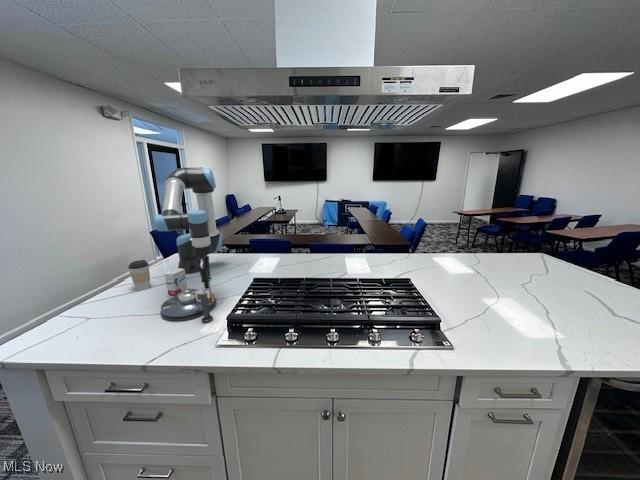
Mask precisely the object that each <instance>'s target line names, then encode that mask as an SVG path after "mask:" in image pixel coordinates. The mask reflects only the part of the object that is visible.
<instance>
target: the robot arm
mask: <svg viewBox="0 0 640 480" xmlns="http://www.w3.org/2000/svg"><path fill="white" fill-rule="evenodd" d="M213 172H214V171H213V170H212V169H211V168H210V167H179V168H177V169H175V170H173V171H171V172H170V173H169V174H168V175H167V177H166V178H165V181H164V188H165V193H164V199H163V205H162V209H161V214H158V215H155V216H154V217H153V221H154V222H153V223H154V228H155V229H156V231H158V232H171V231H172V232H173V231H185V230H189V233H185V234H182V235H180V236H178V237H177V238H176V247H177V253H178V258H179V259H178V260H179V261H178V267H177V268H181V269H185V275H186V274H193V273H197V272H199V273H200V278H201V283H202V284H203V289H209V293H213V292H212V285H211V280H212V277H211V270H210V268H211V267H210V256H209V255H210V254H212V253H214V252H221V250H222V249H223V233H222V232H220V230H219V229H217V225H216V224H217V223H216V222H217V221H216V218H215V217H216V216H215V209H214V203H213V202H214V201H213V193H214V192H215V189H216V188H217V183H216V180H215V175H214V173H213ZM187 189H188V190H189V189H190V190H191V189H192V193H194V194H195V196H196V201H197V208H198V210H197V209H196V210H190V211H188V213H187V212H183V213H181V212H182V203H183V202H182V200H183V193H184V191H185V190H187Z"/></svg>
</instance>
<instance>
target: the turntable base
mask: <svg viewBox="0 0 640 480" xmlns="http://www.w3.org/2000/svg"><path fill="white" fill-rule="evenodd" d="M217 301H218V300H217V298H216V297H215V303H214V305H213V306H212V307H211V308H209V310H210V312H211V311H213V310H214V309H215V308H216V307H217V304H218V302H217ZM160 317H161V319H162V320H164V321H166V322H170V323H171V322H173V323H175V322H177V323H178V322H186V321H187V322H188V321H191V320H195V319H197V318H200V317H204V316H203V312H202V313H200V314H197V315H194V316H190V317H185V318H168V317H165V316H164V315H163V314H162V312H161V311H160Z"/></svg>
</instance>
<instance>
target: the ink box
mask: <svg viewBox="0 0 640 480" xmlns="http://www.w3.org/2000/svg"><path fill="white" fill-rule="evenodd" d="M164 277H165V283H166V288H167V294H168V295H169V296H176V295H178V294H179V293H180V292H182V291H184V290H185V289H188V284H187V277H186V274H185V269H181V268H178V267H175V268H173V269H172V270H169V271H167V272H165V273H164Z"/></svg>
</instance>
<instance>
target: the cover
mask: <svg viewBox="0 0 640 480" xmlns="http://www.w3.org/2000/svg"><path fill="white" fill-rule="evenodd" d="M187 288H188V287H187ZM198 291H199V290H198V289H196V288H188V289H185V290H184V291H182V292H180V293H179V294H178V298H179V304H180V305H190V304H193V303H195V302H197V298H196V292H198Z"/></svg>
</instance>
